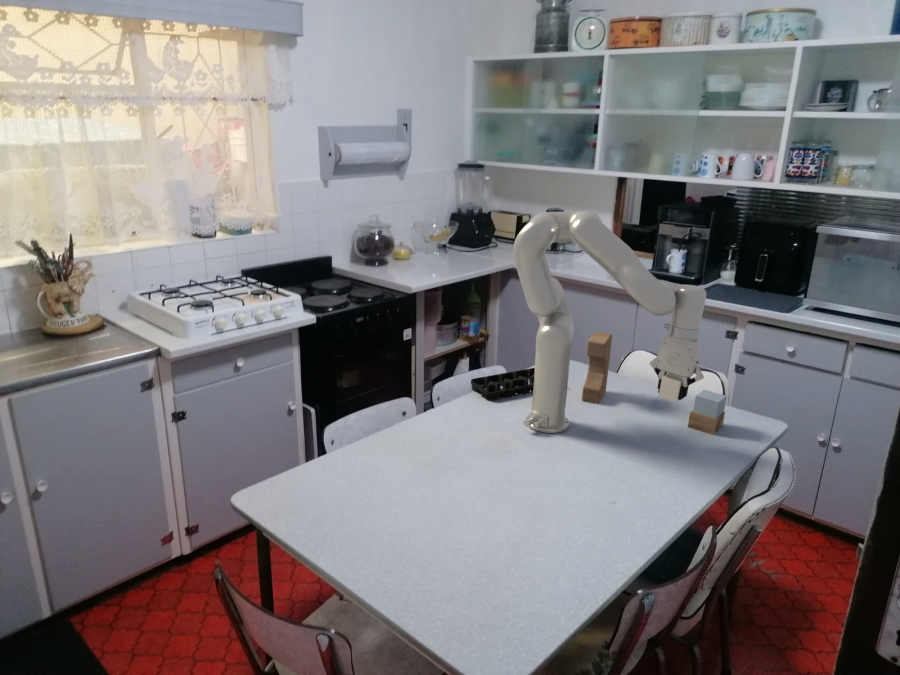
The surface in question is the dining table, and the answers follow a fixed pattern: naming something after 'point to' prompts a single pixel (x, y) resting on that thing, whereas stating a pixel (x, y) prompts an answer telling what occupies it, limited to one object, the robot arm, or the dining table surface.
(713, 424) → the tower base
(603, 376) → the decorative block
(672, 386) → the cream block
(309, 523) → the dining table surface
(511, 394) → the egg carton
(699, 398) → the tower top
